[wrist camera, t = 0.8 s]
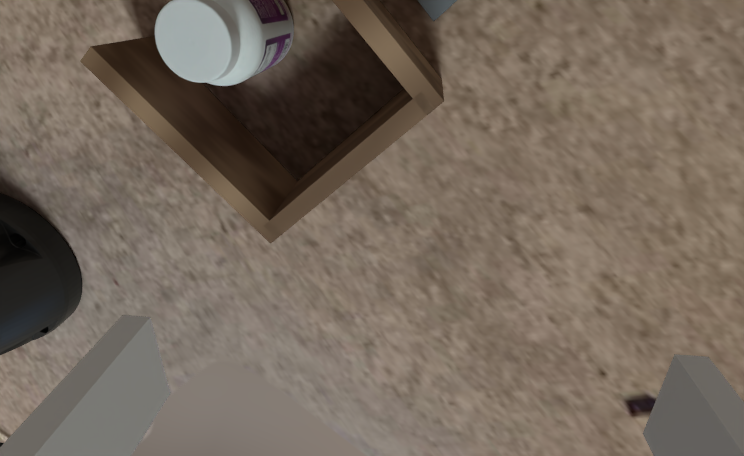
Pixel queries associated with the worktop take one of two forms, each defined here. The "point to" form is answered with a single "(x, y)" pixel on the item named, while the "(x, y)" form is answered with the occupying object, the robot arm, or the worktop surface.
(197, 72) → the pill bottle
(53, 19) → the worktop surface
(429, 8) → the mat
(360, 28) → the nook
